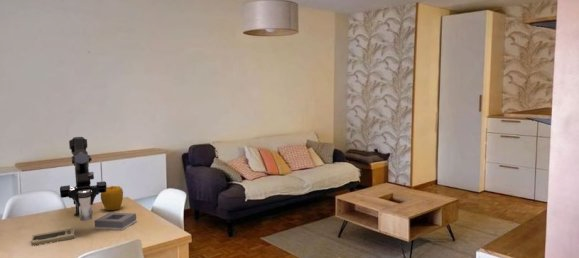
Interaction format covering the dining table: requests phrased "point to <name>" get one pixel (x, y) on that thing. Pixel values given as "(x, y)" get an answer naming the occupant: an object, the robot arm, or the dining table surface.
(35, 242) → the computer
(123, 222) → the square plate with hole
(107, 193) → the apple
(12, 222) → the dining table surface
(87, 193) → the shiny metal cylinder
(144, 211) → the dining table surface
